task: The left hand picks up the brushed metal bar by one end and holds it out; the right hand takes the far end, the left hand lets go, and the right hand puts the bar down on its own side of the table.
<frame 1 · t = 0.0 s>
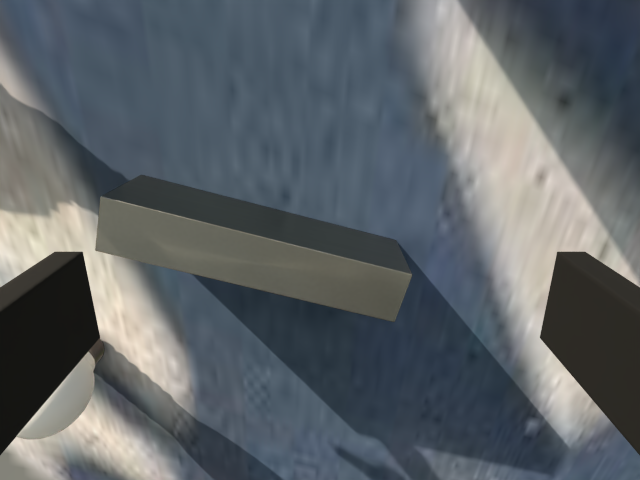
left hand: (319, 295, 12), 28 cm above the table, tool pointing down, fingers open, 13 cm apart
bar: (266, 230, 41), on the table
light bulb: (87, 348, 46), on the table
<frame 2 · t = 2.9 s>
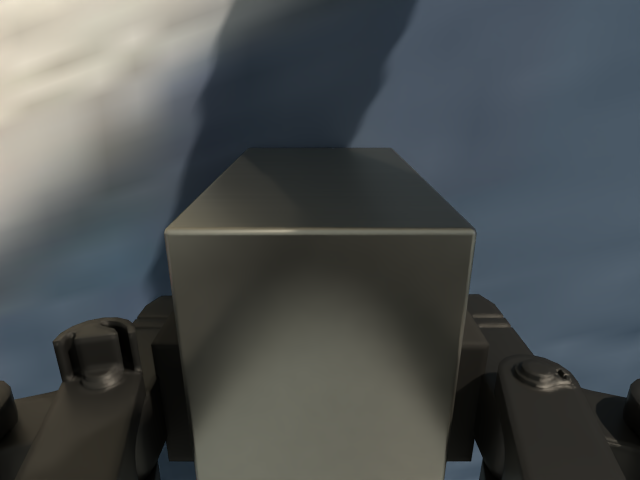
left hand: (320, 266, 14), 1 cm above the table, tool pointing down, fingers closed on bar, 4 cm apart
bar: (320, 450, 18), on the table, touching left hand
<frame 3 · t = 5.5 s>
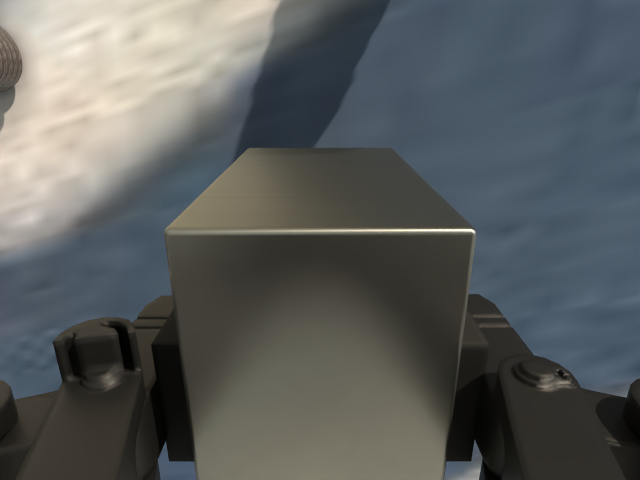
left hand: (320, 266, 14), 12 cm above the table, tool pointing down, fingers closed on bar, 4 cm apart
bar: (320, 450, 18), point 11 cm above the table, touching left hand
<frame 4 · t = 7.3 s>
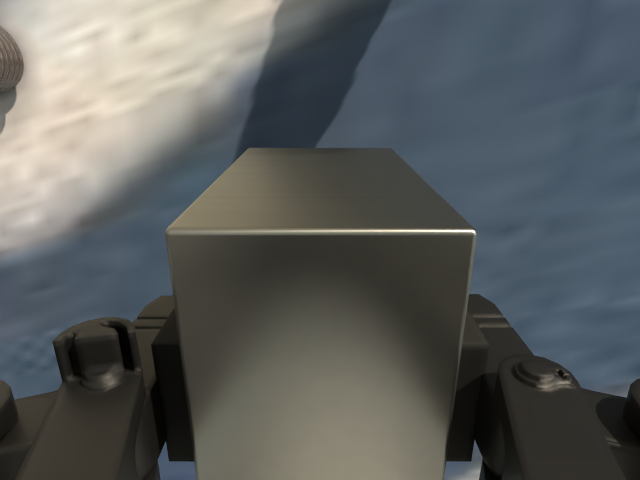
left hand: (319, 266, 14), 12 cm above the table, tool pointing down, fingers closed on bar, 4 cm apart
bar: (319, 450, 18), point 11 cm above the table, touching left hand, right hand
when the left hand's fingers open (12 cm above the table, at t = 8.2 s): bar stays where it is, held by the right hand.
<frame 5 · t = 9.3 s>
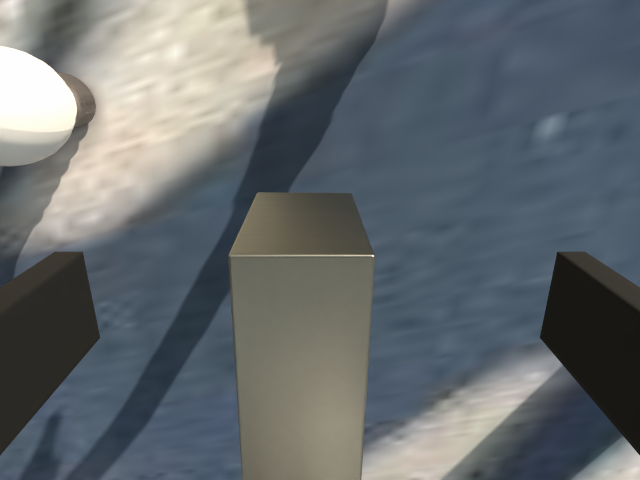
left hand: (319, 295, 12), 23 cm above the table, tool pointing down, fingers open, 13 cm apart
bar: (304, 401, 25), point 14 cm above the table, touching right hand
light bulb: (67, 101, 32), on the table
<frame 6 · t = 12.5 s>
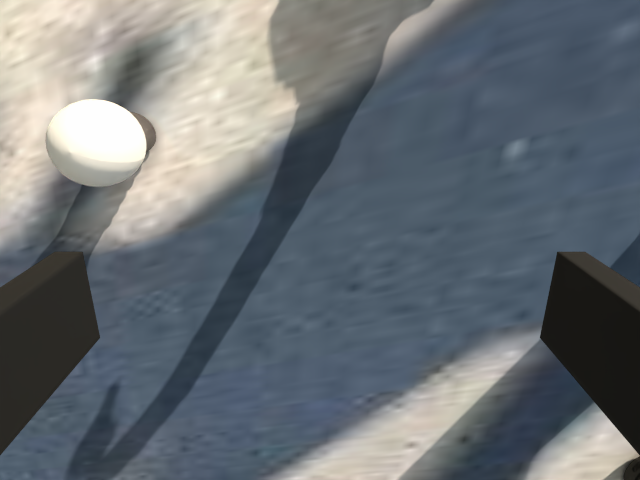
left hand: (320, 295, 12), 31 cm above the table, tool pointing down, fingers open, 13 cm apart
light bulb: (133, 133, 41), on the table
when the right hand's fingers open (4 cm above the table, at t = 17.8 s): bar drops 1 cm, on the table.
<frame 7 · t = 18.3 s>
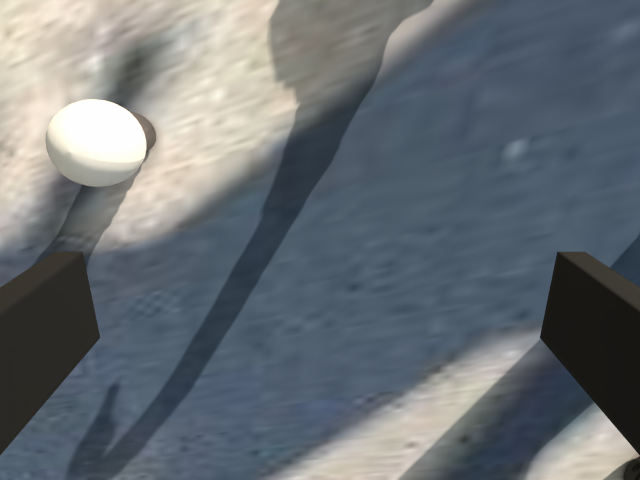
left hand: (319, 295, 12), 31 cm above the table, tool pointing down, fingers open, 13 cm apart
light bulb: (133, 133, 41), on the table
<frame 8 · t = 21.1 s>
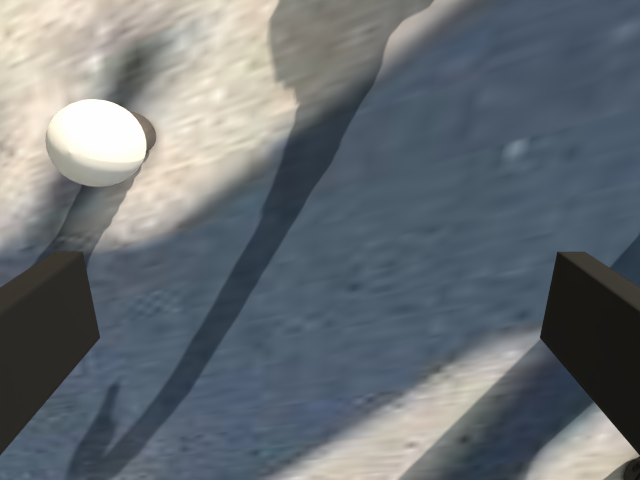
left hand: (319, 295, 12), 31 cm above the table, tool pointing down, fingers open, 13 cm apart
light bulb: (133, 133, 41), on the table
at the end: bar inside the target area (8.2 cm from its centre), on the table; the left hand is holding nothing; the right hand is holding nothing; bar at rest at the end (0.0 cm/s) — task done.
